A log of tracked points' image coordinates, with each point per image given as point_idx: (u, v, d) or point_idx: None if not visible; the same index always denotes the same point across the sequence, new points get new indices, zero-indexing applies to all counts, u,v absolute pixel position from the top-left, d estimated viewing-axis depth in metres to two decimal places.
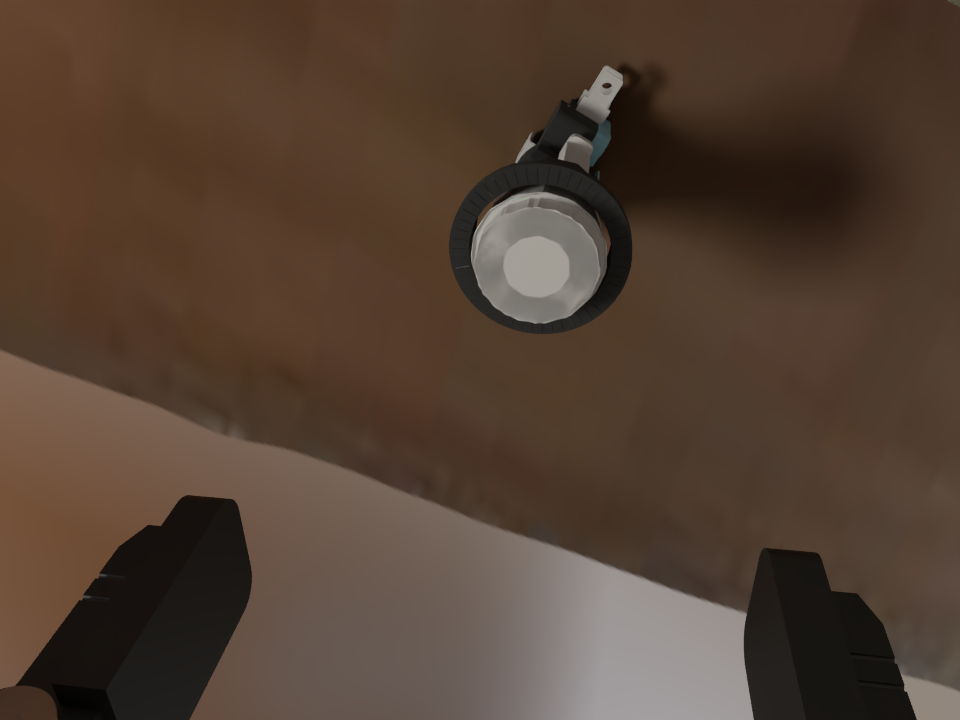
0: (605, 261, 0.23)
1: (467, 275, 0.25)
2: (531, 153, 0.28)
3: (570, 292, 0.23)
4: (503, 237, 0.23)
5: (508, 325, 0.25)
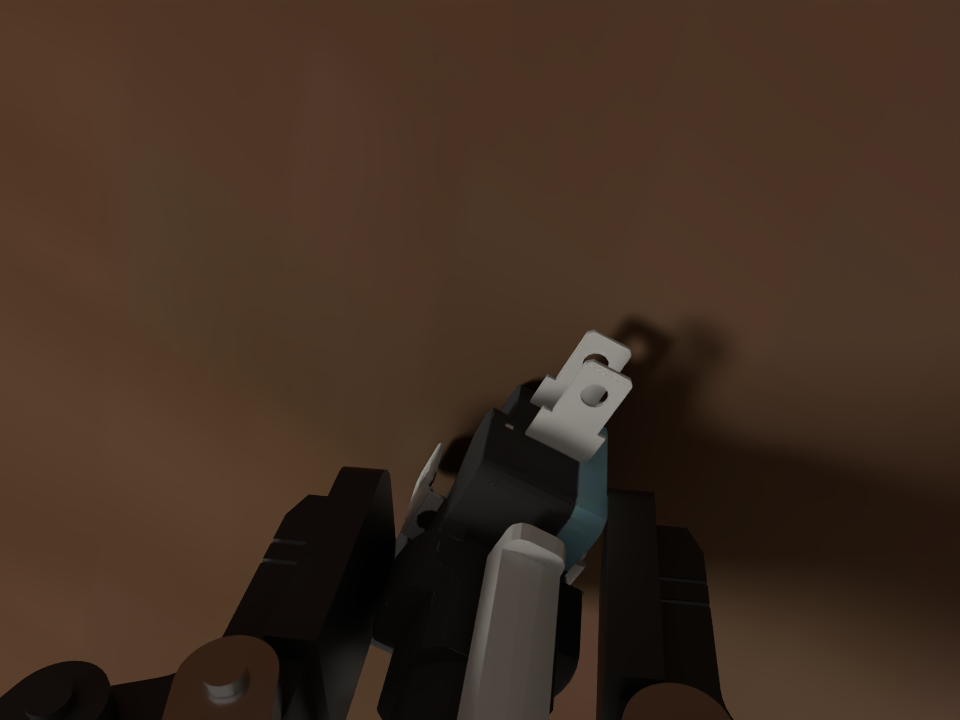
0: None
1: None
2: (417, 572, 0.12)
3: None
4: None
5: None
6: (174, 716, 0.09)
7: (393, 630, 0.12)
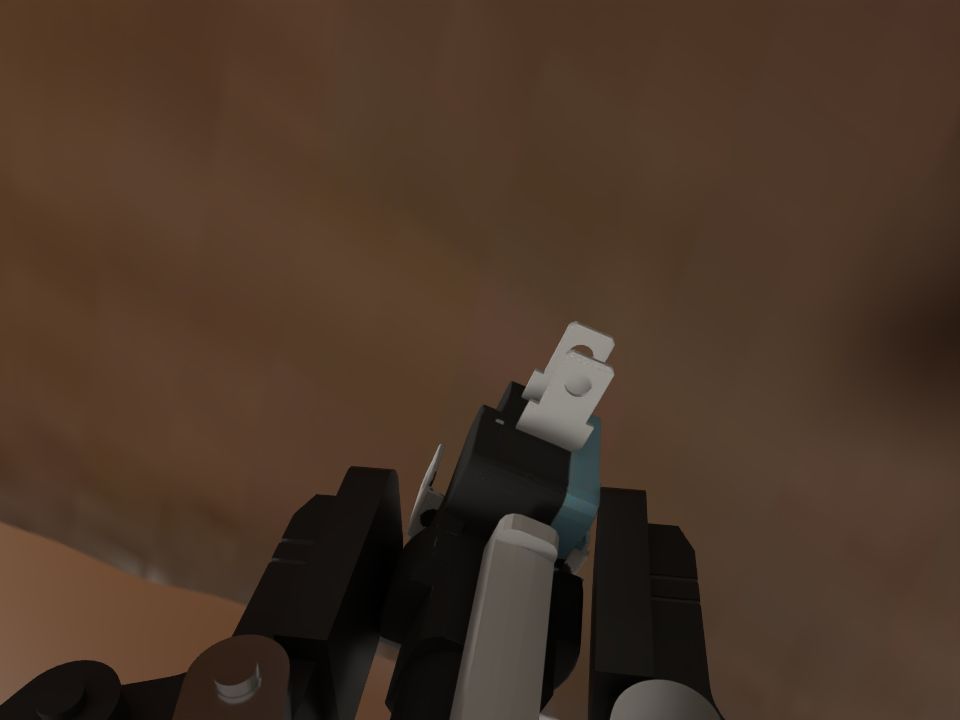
0: None
1: None
2: (416, 567, 0.12)
3: None
4: None
5: None
6: (185, 715, 0.09)
7: (398, 626, 0.12)
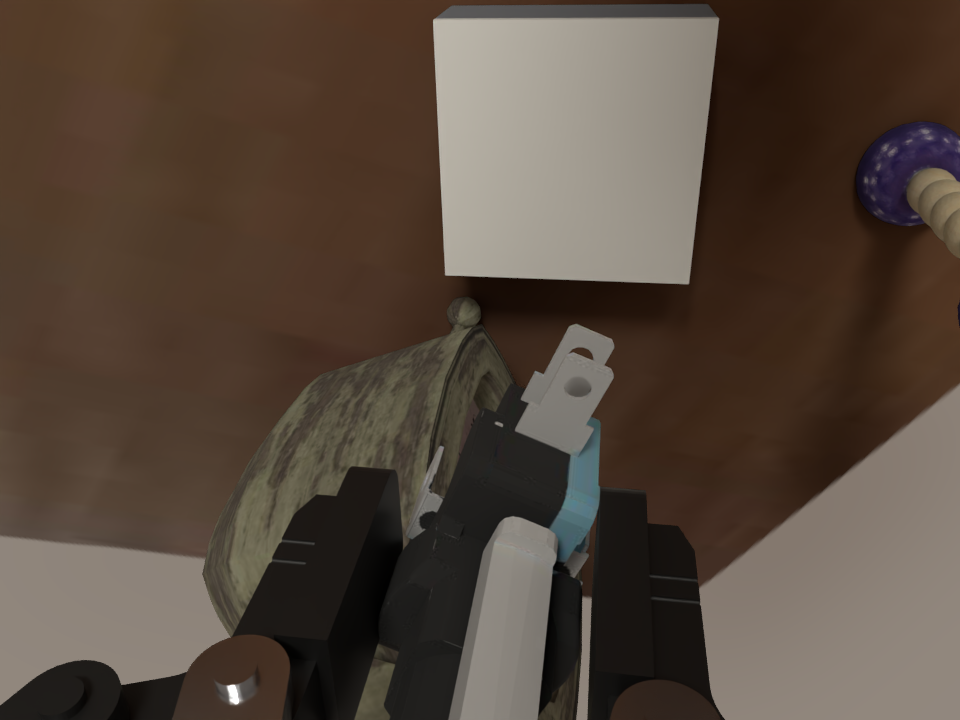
0: None
1: None
2: (415, 570, 0.12)
3: None
4: None
5: None
6: (185, 715, 0.09)
7: (397, 629, 0.12)
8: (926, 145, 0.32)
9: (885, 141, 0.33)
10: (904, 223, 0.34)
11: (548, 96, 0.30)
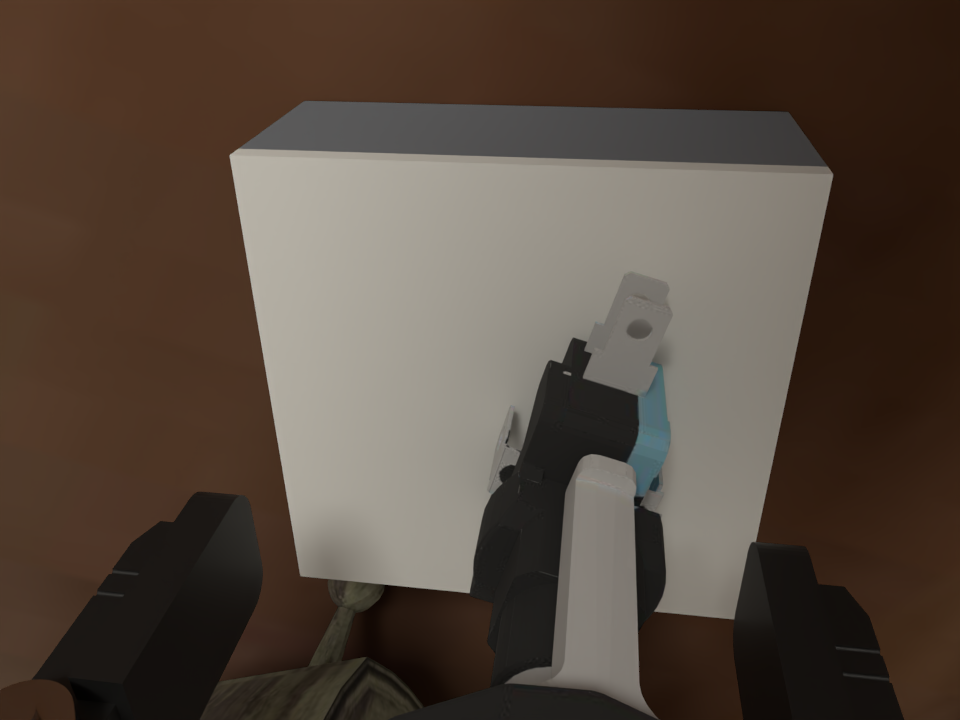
0: None
1: None
2: (503, 514, 0.13)
3: None
4: None
5: None
6: None
7: (492, 572, 0.13)
8: None
9: None
10: None
11: (471, 305, 0.15)
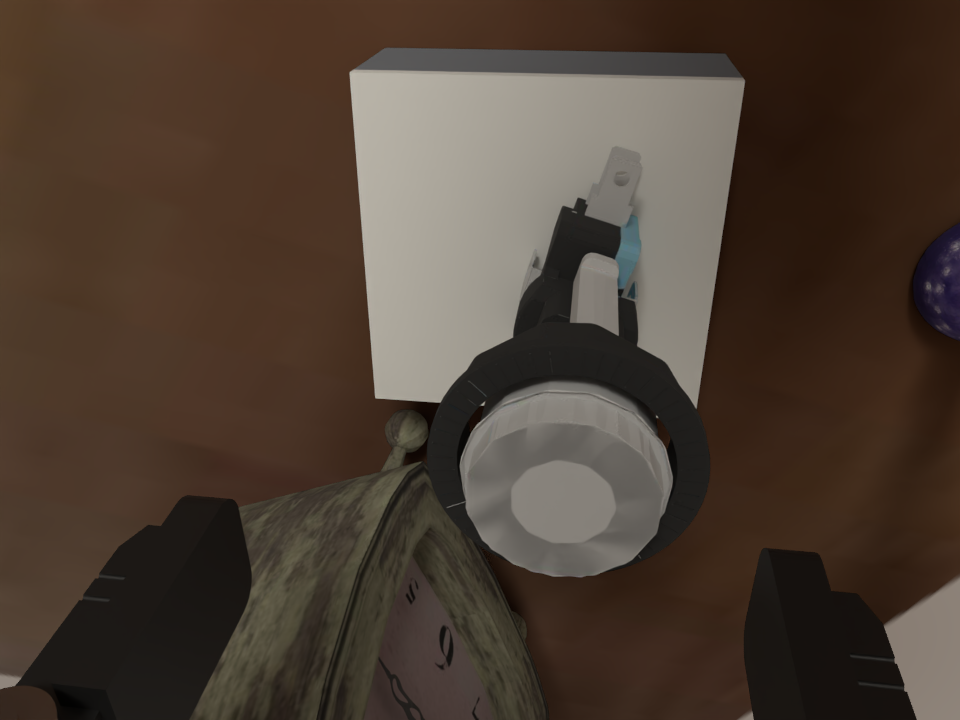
0: (668, 469, 0.15)
1: (467, 514, 0.16)
2: (534, 292, 0.20)
3: (624, 529, 0.15)
4: (501, 469, 0.15)
5: None
6: None
7: None
8: None
9: (955, 238, 0.25)
10: None
11: (508, 177, 0.22)
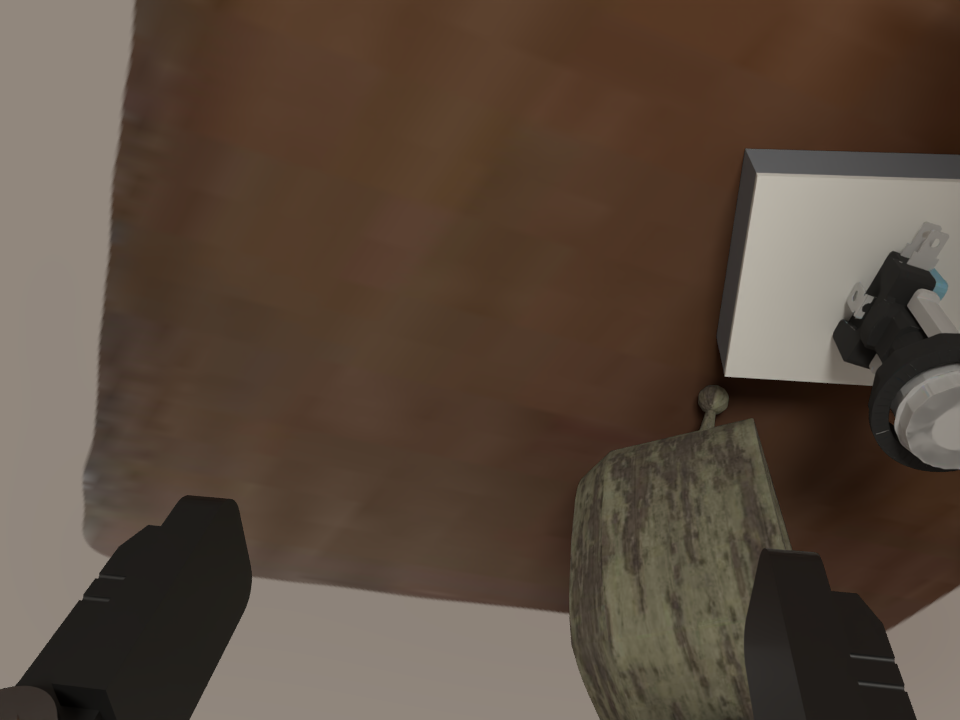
0: None
1: (886, 437, 0.30)
2: (885, 312, 0.33)
3: None
4: (932, 410, 0.28)
5: (924, 468, 0.30)
6: None
7: (875, 338, 0.34)
8: None
9: None
10: None
11: (847, 238, 0.36)
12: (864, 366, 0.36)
